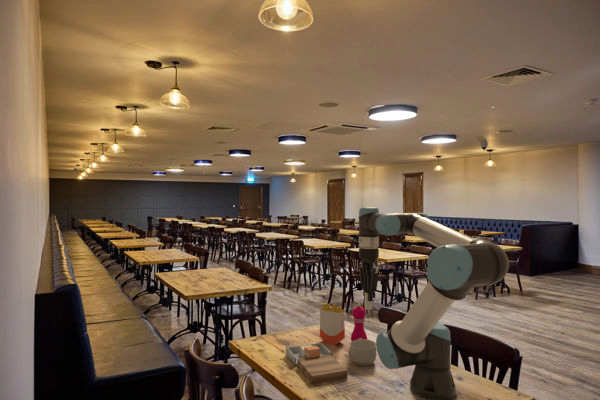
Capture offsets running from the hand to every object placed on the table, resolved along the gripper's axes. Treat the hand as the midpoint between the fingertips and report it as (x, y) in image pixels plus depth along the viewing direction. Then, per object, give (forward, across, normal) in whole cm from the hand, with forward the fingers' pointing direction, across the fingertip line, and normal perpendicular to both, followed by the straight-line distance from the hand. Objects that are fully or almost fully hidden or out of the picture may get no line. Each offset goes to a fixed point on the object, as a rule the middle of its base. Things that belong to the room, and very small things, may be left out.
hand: (368, 308), depth 154 cm
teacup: (+25, -10, +3) cm, 27 cm away
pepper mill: (+25, -23, +8) cm, 35 cm away
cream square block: (+23, -21, -17) cm, 36 cm away
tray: (+24, -20, -17) cm, 36 cm away
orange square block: (+22, -16, -17) cm, 32 cm away
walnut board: (+24, -6, -17) cm, 30 cm away
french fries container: (+25, -34, 0) cm, 42 cm away
